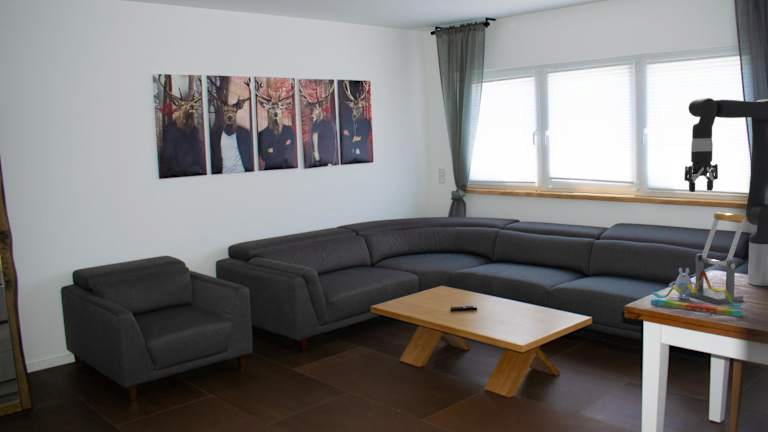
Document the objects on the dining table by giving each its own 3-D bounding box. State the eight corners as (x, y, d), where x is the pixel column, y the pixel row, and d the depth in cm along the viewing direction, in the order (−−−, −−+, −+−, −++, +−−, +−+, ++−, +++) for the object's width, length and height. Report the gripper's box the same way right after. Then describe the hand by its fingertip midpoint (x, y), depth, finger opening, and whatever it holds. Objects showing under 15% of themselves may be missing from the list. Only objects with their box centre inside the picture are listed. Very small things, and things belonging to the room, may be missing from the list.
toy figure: (667, 299, 263) (668, 268, 262) (669, 295, 269) (669, 265, 267) (698, 301, 258) (698, 270, 257) (698, 297, 264) (699, 267, 263)
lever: (704, 262, 267) (720, 213, 268) (730, 268, 255) (748, 217, 255) (698, 260, 266) (715, 211, 267) (724, 266, 254) (742, 214, 254)
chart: (650, 305, 257) (651, 266, 255) (653, 303, 259) (654, 264, 257) (738, 317, 237) (740, 275, 235) (741, 315, 239) (742, 273, 237)
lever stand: (708, 291, 273) (709, 252, 271) (745, 301, 256) (746, 259, 254) (684, 294, 269) (685, 254, 267) (719, 305, 252) (720, 262, 250)
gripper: (708, 149, 274) (707, 189, 276) (680, 150, 269) (679, 191, 271) (723, 149, 267) (722, 190, 269) (694, 150, 262) (693, 193, 264)
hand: (700, 191), depth 270 cm, fingers open, 8 cm apart
